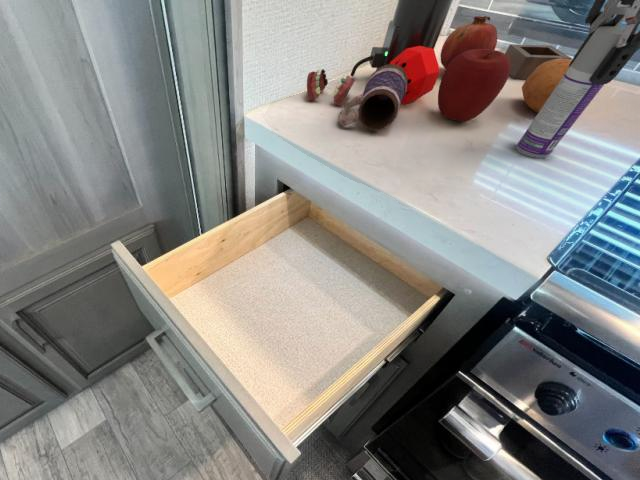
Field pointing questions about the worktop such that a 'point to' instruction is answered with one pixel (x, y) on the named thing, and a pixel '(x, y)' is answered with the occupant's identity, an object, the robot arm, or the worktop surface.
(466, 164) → the worktop surface
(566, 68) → the potato
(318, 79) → the dentures
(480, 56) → the apple
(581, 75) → the container
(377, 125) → the mug
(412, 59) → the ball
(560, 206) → the worktop surface
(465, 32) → the fruit
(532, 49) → the socket
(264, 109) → the worktop surface
